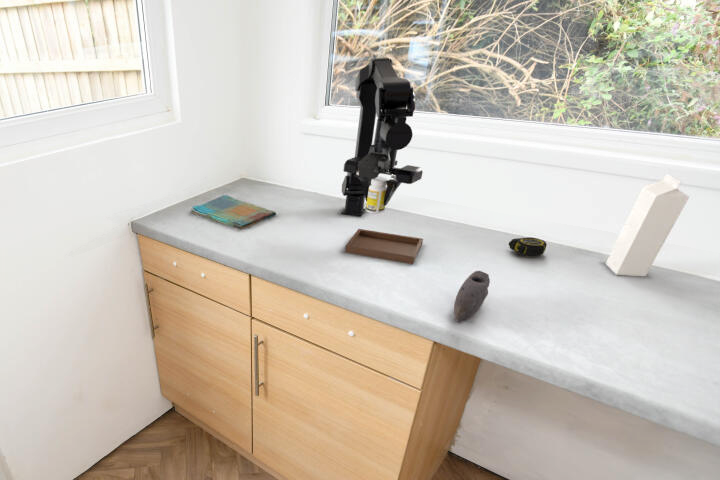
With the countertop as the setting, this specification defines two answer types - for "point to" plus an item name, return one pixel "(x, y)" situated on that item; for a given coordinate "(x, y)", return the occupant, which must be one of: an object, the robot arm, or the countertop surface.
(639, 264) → the milk
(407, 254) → the tray
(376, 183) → the supplement bottle
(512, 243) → the tape measure
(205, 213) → the dish towel
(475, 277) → the perforated stone tool
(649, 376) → the countertop surface
